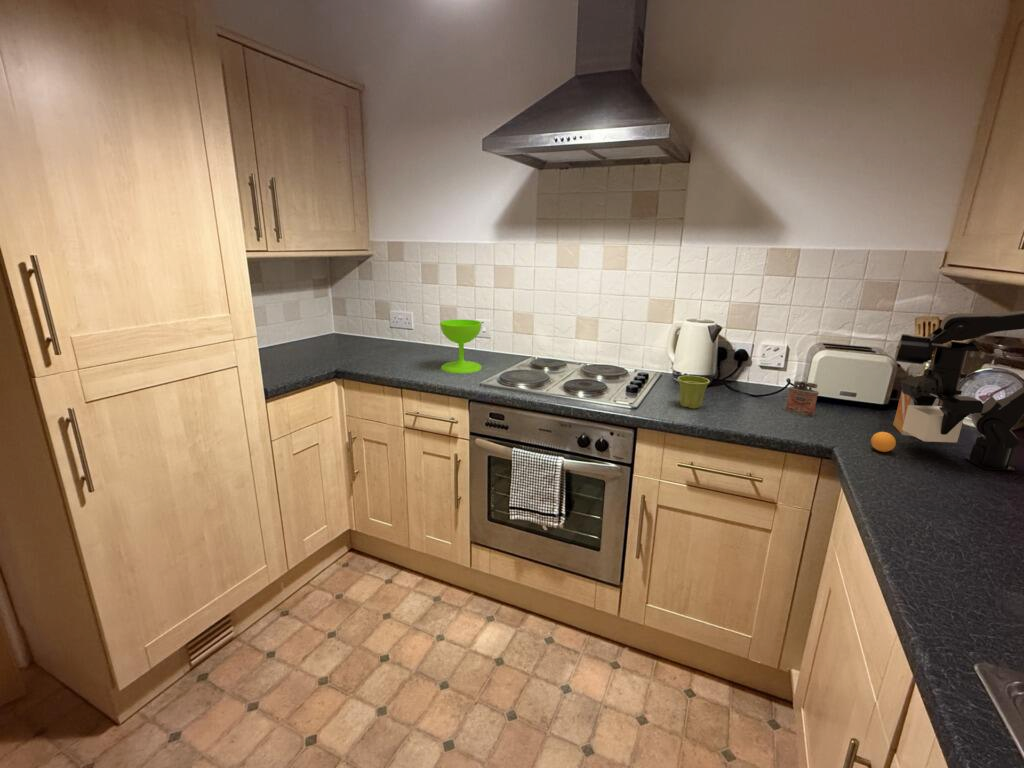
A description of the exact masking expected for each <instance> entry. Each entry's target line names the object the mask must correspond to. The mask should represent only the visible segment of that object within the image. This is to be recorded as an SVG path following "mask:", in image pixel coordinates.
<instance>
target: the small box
mask: <svg viewBox="0 0 1024 768" xmlns="http://www.w3.org/2000/svg"><path fill="white" fill-rule="evenodd" d="M939 402H940V399H938V398H936V400H935V401H934V403H933V405H932V406H939ZM908 405H914V402H913V400H912V399H911V398H910V397H909V396H908V395H907V394H903V392H902V391H901V392H900V396H899V400H898V404H897V409H896V411H895V412H896V413H895V416H894V420H893V424H892V425H893V427H895V428H896V430H897V431H898V432H899V433H900V434H901V435H902V436H907V437H913V438H914V437H915V436H913V435H911V434H909V433H907V432H905V431H904V430H902V428H903V424H904V420H905V416H906V412H907V408H908ZM915 438H916V437H915Z"/></svg>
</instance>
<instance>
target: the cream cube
mask: <svg viewBox="0 0 1024 768" xmlns="http://www.w3.org/2000/svg"><path fill="white" fill-rule="evenodd" d="M939 407H941V406H939V405H938V406H914V405H908V408H907V412H906V416H905V420H904V424H903V428H902V430H904V431H905V432H907V433H909V434H911V435H913V436H912V437H914V436H915V438H917V439H919V440H921V441H922V442H928V443H930V442H933V443H934V442H935V443H958V440H959V437H960V433H961V429H962V425H963V423H964V419H963V420H962V421H960V422H959V423H958V424H957V425H956V426H955V427H954V428H953V429H952V430H951V431H950V432H949V433H948V434H946V435H942V434H941V426H942V420H943V415H944V414H943V412H942V411H941V409H940V408H939Z"/></svg>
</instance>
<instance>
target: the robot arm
mask: <svg viewBox="0 0 1024 768" xmlns="http://www.w3.org/2000/svg"><path fill="white" fill-rule="evenodd" d="M1015 330H1018V331H1019V330H1024V310H1020V311H1019V310H1018V311H1009V312H1002V313H992V314H991V313H990V314H989V313H987V314H986V313H968V312H967V313H964V312H963V313H962V312H961V313H959V312H957V313H952V314H949V315H947V316H945V317H944V318H943V319H942V321H941V322H940V326H939V327H937V328H936V329H934V330H933V331H932V332H931V333H929V334H928V335H927V336H921V335H919V336H918V335H911V334H906V333H905V334H904V333H902V334H901V336H900V338H899V342H898V343H897V344H898V345H896V350H895V352H894V353H895V354H894V362H899V363H906V364H907V363H908V364H917V365H924V364H925V363H928V362H930V361H932V360H933V361H932V363H931V367H930V368H926V369H925V370H924V372H923V375H917V376H913V377H910V378H909V377H908V378H906V379H902V380H900V383H901V384H900V385H901V388H900V390H901V392H903V394H907V395H908V396H909V397H910V398H911V399H912V400H913V402H914V406H932V405H933V403H934V401H935V400H936V398H938V399H939V401H942V402H943V403H942V404H943V406H940V407H939V408H940V409H941V411H942V412H943V414H944V415H943V420H942V426H941V434H942V435H946V434H948V433H949V432H950V431H951V430H952V429H953V428H954V427H955V426H956V425H957V424H958V423H959V422H960V421H962V420H963V421H964V419H966V418H967V417H968V416H969V415H971V421H972V424H973V425H974V427H975V428H976V430H977V431H978V432H979V435H981V436H980V437H976V439H975V443H973V444H972V447H971V452H970V455H969V456H964V459H965V460H967V461H969V462H971V464H972V463H973V464H974V465H976V466H979V467H980V468H982V469H984V470H987V471H989V470H990V471H1008V472H1009V471H1010V472H1015V468H1014V467H1011V466H1010V463H1011V460H1012V457H1013V455H1014V450H1015V448H1016V447H1017V446H1018V445H1019V444H1020V443H1021V442H1020V439H1018V437H1017V436H1016V435H1015V433H1014V432H1013V431H1012V429H1013V428H1014V427H1015V426H1016V425H1018V423H1019V422H1020V421H1021V419H1022V418H1023V416H1024V386H1022V387H1021V388H1018V389H1017V390H1016V391H1014V392H1013V393H1011V394H1010V395H1009V396H1007V397H1003V398H1001V399H996V398H994V396H989V398H987V399H986V400H984V402H982V400H980V399H977V398H975V397H972V396H969V395H968V396H966V395H962V393H963V390H961V389H959V385H960V382H961V379H967V373H964V372H963V371H964V367H965V363H966V358H967V355H968V352H974V353H975V352H976V353H978V352H981V348H979V347H978V346H977V345H976V344H975V342H974V340H973V339H976V338H980V337H982V336H986V335H989V334H992V333H993V334H994V333H997V332H998V333H999V332H1006V331H1007V332H1008V331H1015ZM963 341H965V342H963ZM947 343H948V344H947ZM934 348H935V352H934ZM933 354H934V356H933ZM932 356H933V359H932ZM931 359H932V360H931Z"/></svg>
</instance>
